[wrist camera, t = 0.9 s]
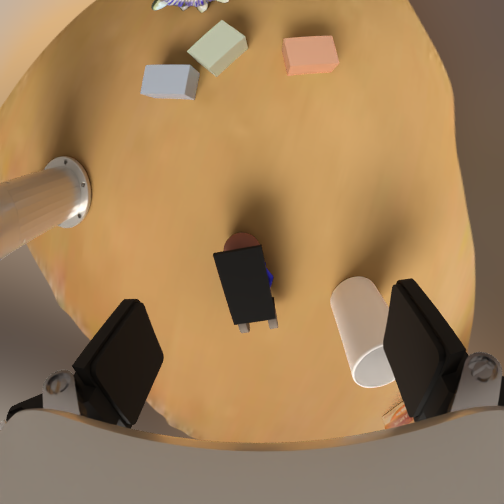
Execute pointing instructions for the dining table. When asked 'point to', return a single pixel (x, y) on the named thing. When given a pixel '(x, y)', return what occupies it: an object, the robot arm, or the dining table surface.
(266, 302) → the figurine character
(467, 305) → the dining table surface
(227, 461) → the robot arm
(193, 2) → the passion flower
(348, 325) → the cup
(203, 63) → the sage brick
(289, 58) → the terracotta brick
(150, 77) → the slate-blue brick
